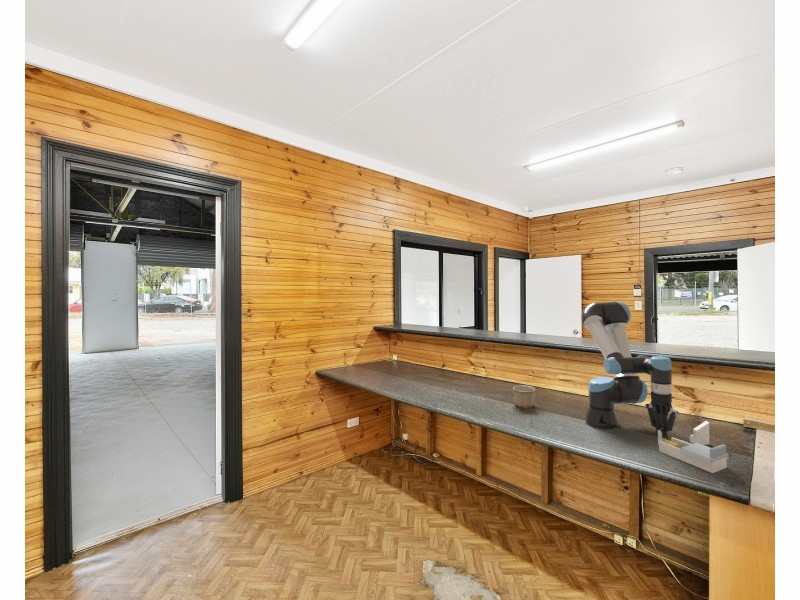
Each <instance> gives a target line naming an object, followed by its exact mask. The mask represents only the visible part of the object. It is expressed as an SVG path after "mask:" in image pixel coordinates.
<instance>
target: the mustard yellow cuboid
mask: <svg viewBox="0 0 800 600" xmlns="http://www.w3.org/2000/svg"><path fill="white" fill-rule="evenodd" d="M662 442H665V443H667V444H670V445H672V446H675V447H678V448H679V444H677V443H674V442H671V440H668V439H666V440H664V441H662Z"/></svg>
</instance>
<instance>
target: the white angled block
mask: <svg viewBox="0 0 800 600" xmlns="http://www.w3.org/2000/svg"><path fill="white" fill-rule="evenodd" d="M692 431H693V432H692V433H693V434H689V443H690V444H693V443H699V444H702V445H705V446H708V445H710V422H709V421H707V420H705V421H703V422H701V423H700V424H699V425H697V426H696V427H694V428H693V430H692Z"/></svg>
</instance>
